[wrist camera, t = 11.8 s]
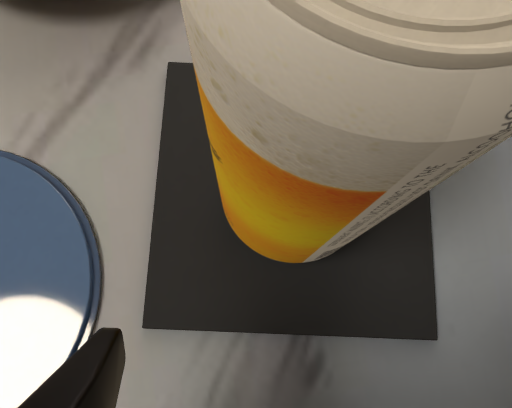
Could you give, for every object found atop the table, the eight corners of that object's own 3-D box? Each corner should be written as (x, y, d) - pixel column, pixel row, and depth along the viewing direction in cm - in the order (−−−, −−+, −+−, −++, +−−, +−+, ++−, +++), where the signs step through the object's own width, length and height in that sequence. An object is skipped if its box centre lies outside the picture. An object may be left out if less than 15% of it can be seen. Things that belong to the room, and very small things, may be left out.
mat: (433, 339, 18) (437, 340, 18) (144, 328, 18) (141, 328, 18) (420, 78, 21) (423, 74, 21) (169, 66, 21) (167, 61, 21)
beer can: (301, 105, 20) (447, -427, 6) (390, 207, 19) (848, -122, 5) (194, 183, 19) (35, -220, 5) (281, 295, 18) (430, 230, 4)
